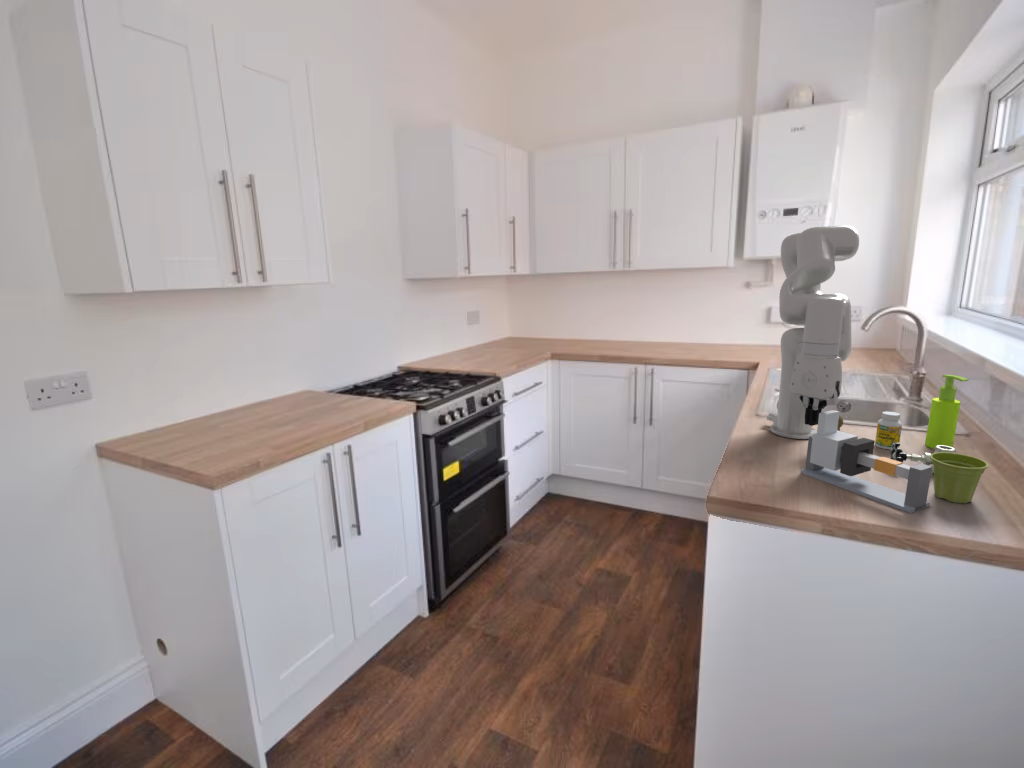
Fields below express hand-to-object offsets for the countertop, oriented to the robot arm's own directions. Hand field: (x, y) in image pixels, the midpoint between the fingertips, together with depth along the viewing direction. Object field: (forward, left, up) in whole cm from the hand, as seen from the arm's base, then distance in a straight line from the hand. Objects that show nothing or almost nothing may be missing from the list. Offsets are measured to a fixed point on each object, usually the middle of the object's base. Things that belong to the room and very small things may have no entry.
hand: (811, 424), depth 125 cm
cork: (-4, +14, -12) cm, 19 cm away
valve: (+14, +23, -12) cm, 29 cm away
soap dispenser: (+7, +45, -12) cm, 47 cm away
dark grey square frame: (+11, 0, -8) cm, 14 cm away
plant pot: (+25, +12, -12) cm, 30 cm away
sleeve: (+6, 0, -8) cm, 10 cm away
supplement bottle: (0, +33, -12) cm, 35 cm away
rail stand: (+13, 0, -12) cm, 17 cm away
